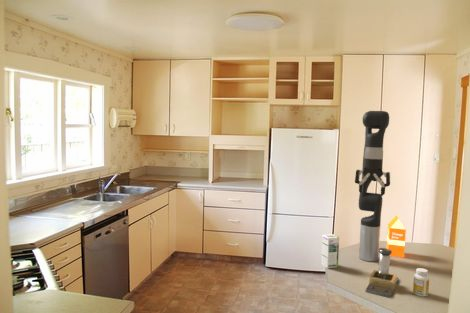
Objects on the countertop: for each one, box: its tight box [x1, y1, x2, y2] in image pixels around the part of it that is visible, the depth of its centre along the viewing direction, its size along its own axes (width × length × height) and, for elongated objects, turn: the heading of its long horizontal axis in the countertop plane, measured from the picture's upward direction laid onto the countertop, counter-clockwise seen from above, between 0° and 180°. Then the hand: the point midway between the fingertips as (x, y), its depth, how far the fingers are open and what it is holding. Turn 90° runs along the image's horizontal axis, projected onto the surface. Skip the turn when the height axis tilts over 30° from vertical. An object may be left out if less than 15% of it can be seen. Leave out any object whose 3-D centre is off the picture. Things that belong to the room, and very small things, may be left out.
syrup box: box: [320, 233, 340, 270], centre depth 169 cm, size 6×6×14 cm
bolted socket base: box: [365, 269, 399, 298], centre depth 149 cm, size 21×9×4 cm, turn 148°
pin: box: [377, 247, 392, 280], centre depth 148 cm, size 5×5×15 cm
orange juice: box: [386, 214, 407, 258], centre depth 188 cm, size 8×9×20 cm
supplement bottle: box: [412, 267, 430, 297], centre depth 142 cm, size 5×5×10 cm
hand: (371, 194), depth 157 cm, fingers open, 8 cm apart
